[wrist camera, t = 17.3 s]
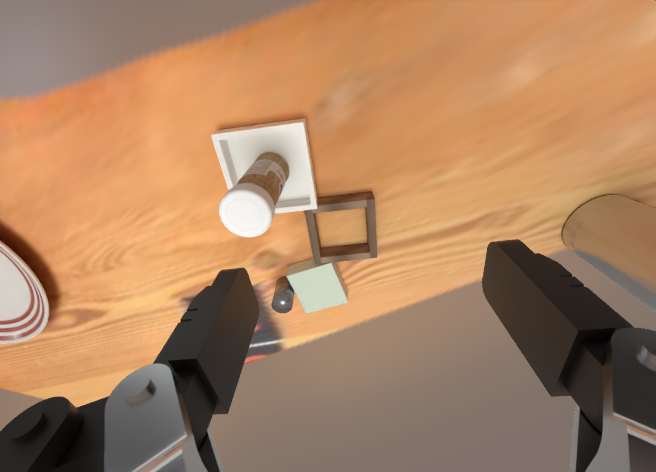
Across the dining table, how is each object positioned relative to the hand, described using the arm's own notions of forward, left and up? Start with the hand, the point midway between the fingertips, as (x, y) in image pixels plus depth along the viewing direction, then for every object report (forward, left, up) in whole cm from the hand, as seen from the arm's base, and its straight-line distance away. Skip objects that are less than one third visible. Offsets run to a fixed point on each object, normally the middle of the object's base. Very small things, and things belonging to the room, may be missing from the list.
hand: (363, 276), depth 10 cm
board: (+6, +22, -29) cm, 37 cm away
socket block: (+1, +13, -28) cm, 31 cm away
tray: (+9, +3, -28) cm, 30 cm away
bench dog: (+11, +22, -28) cm, 38 cm away
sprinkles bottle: (+9, +3, -28) cm, 29 cm away
